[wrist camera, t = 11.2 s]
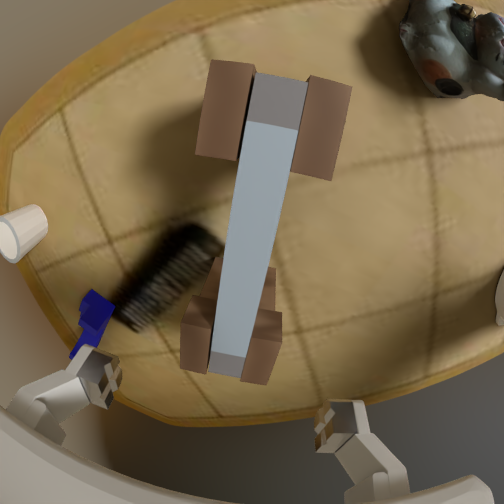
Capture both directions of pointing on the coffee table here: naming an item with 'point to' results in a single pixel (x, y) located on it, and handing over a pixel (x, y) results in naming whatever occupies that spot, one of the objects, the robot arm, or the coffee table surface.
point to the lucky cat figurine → (455, 48)
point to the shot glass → (21, 231)
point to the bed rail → (255, 214)
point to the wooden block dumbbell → (304, 162)
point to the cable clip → (93, 320)
